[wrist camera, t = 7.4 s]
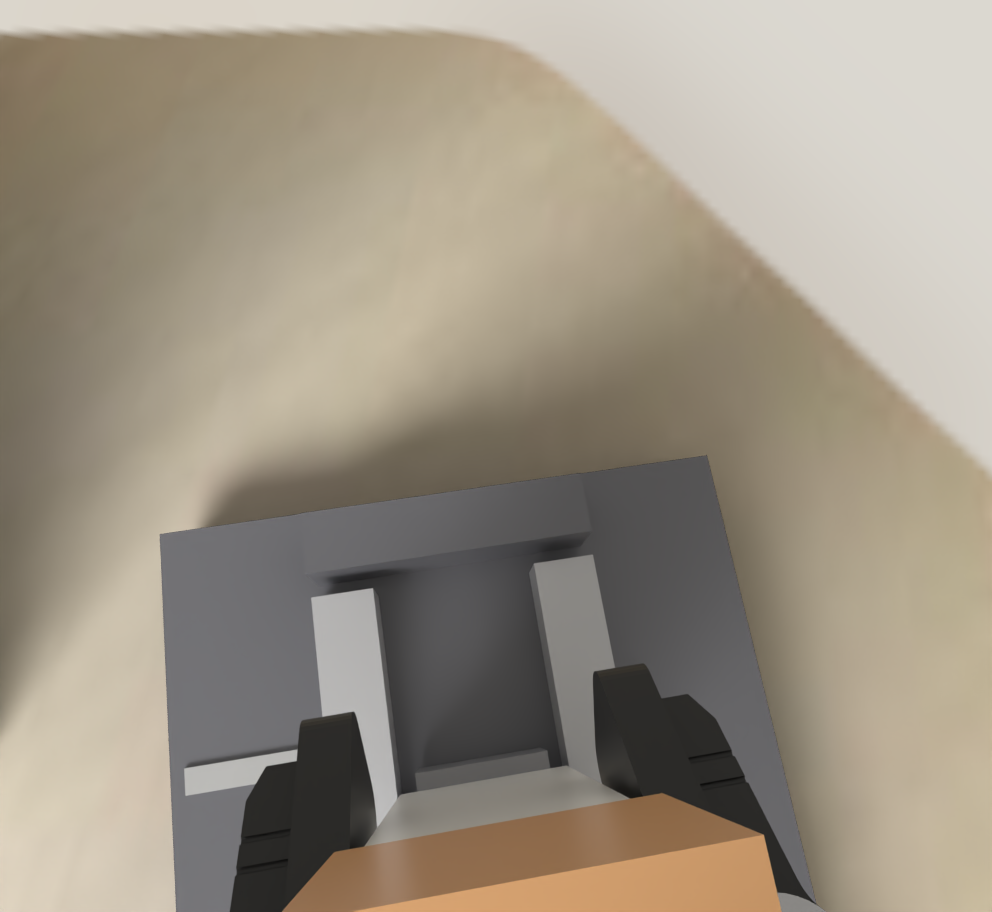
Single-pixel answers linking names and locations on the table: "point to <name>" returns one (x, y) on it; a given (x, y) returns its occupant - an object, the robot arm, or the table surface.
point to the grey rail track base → (449, 640)
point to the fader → (542, 849)
